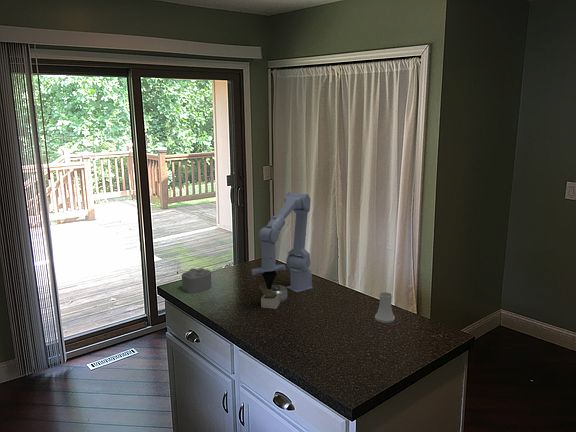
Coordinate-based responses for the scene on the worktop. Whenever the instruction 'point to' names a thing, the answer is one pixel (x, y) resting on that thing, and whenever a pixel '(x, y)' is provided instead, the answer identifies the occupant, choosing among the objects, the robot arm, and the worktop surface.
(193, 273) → the lumpy-topped squat cylinder
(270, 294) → the key peg
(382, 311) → the vase
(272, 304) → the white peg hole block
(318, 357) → the worktop surface
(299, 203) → the robot arm
